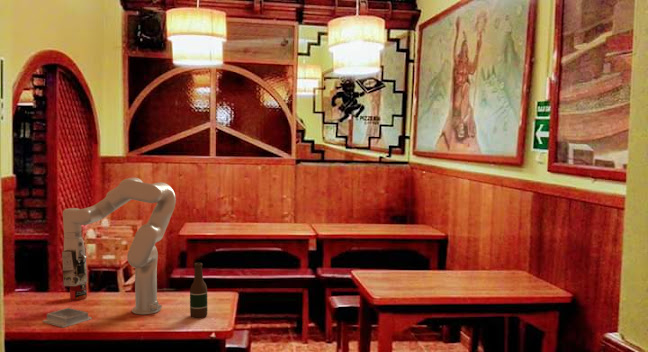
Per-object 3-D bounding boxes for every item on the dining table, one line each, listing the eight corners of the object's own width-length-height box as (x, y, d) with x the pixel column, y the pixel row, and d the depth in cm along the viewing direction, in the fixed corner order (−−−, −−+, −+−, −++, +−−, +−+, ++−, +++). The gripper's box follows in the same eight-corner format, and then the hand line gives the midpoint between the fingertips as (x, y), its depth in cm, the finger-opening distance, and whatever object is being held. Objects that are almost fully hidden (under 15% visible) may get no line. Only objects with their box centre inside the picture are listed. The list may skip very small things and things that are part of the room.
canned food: (76, 301, 282) (76, 279, 281) (66, 299, 286) (65, 277, 285) (90, 298, 288) (89, 276, 288) (80, 295, 293) (79, 274, 292)
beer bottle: (211, 314, 262) (210, 262, 261) (202, 319, 255) (201, 265, 253) (196, 312, 265) (195, 260, 263) (186, 317, 258) (185, 264, 256)
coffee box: (75, 286, 264) (73, 251, 263) (63, 286, 265) (61, 251, 264) (87, 281, 273) (86, 247, 271) (75, 281, 274) (73, 247, 273)
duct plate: (91, 318, 255) (91, 311, 255) (63, 327, 244) (62, 320, 243) (71, 313, 263) (71, 306, 263) (42, 322, 251) (42, 314, 251)
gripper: (92, 235, 266) (94, 272, 267) (68, 232, 275) (70, 269, 276) (77, 237, 259) (79, 276, 261) (54, 235, 269) (56, 272, 270)
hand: (75, 272), depth 268 cm, fingers closed on coffee box, 8 cm apart
